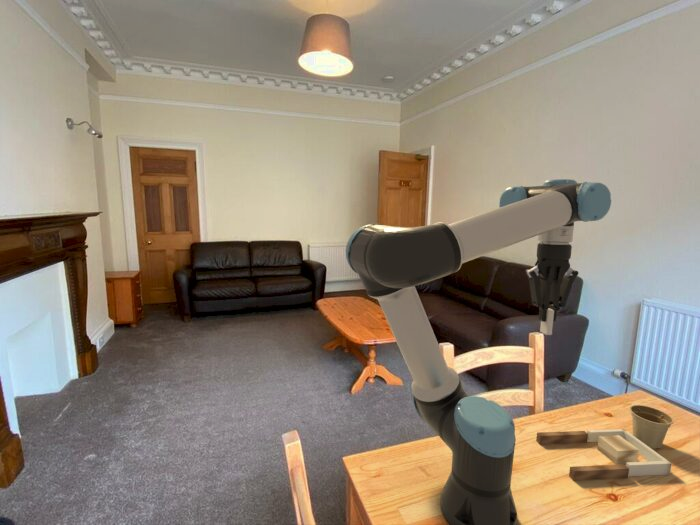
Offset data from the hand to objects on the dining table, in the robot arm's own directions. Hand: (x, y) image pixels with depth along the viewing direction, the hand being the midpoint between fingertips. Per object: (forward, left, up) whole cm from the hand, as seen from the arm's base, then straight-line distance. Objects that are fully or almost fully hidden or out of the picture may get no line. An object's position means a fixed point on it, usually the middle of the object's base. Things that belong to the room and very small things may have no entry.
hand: (545, 333), depth 93 cm
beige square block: (+20, -5, -33) cm, 38 cm away
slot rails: (+9, -5, -32) cm, 34 cm away
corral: (+22, -5, -32) cm, 39 cm away
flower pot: (+33, 0, -33) cm, 46 cm away
